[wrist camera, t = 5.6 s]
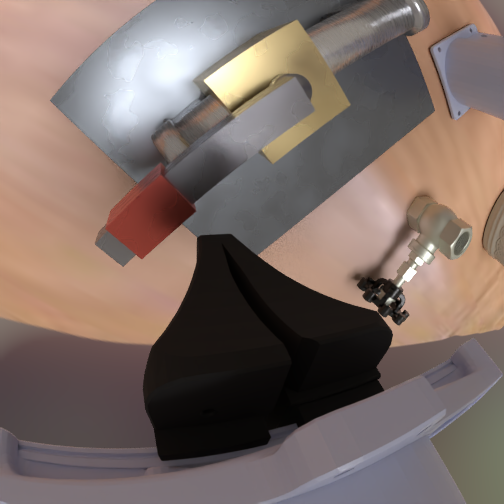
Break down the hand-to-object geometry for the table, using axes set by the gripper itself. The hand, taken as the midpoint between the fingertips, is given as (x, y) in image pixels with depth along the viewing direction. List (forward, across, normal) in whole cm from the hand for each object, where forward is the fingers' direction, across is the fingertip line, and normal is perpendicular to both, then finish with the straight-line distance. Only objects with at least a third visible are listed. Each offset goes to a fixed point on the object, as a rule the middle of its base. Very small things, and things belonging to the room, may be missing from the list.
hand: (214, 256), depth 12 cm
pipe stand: (+9, -5, -7) cm, 13 cm away
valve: (+9, -21, +6) cm, 24 cm away
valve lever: (+3, 0, -3) cm, 4 cm away
